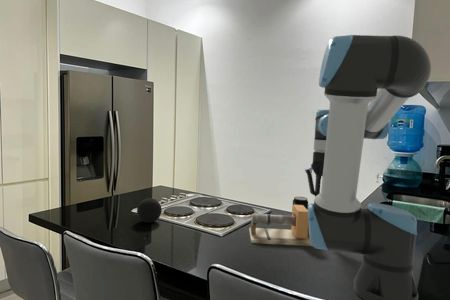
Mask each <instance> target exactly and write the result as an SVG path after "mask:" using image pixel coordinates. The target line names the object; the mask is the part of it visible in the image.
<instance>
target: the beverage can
mask: <svg viewBox="0 0 450 300" xmlns="http://www.w3.org/2000/svg"><path fill="white" fill-rule="evenodd" d="M308 204H309V201H308V198H307V197H306V196H294V197H293V200H292V206H291V207H292V209H293V205H303V206H304V207H305V208H306V209H307V210H308ZM292 209H291V210H292Z"/></svg>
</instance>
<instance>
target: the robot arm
mask: <svg viewBox="0 0 450 300" xmlns="http://www.w3.org/2000/svg"><path fill="white" fill-rule="evenodd" d="M431 69H432V65H431V59H430V56H429V54H428V52H427V50H426V49H425V48H424V46H423V45H422V44H420V43H419V42H418V41H417V40H415V39H412V38H410V37H408V36H405V35H370V34H369V35H365V34H364V35H362V34H359V35H358V34H349V35H336V36H334V37H331V38H330V39H329V41H328V43H327V45H326V48H325V51H324V54H323V58H322V62H321V67H320V71H319V78H318V85H319V87H320V88H322V89H323V88H324V92H323V93H324V96H325V97H326V99H327V100H328V101H329V109H318V110H316V113H315V114H316V115H315V118H314V119H315V123H314V125H315V127H314V139H313V140H314V141H313V150H314V151H313V152H312V163H311V165H310V166H309V167H308V168H305V169H304V172H305V173H306V176H307V182H308V187H309V193H310V194H311V195H313V196H314V199H313V203H312V202H311V203H308V223H309V236H310V243H311V245H312V246H311V247H313V248H314V249H318V250H325V251H326V252H329V251H330V252H331V251H332V252H340V253H349V254H357V255H358V254H359V255H362V262H361V265H360V266H359V267H358V271H357V272H356V275H355V277H354V279H353V291H354V293H355V292H356V293H355V294H356V295H357V296H359V298H361V299H362V300H419V292H418V288H417V284H416V281H415V277H414V276H415V275H414V273H413V272H414V271H413V270H414V261H415V253H416V252H415V250H416V243H417V235H418V232H417V230H418V228H417V227H418V220H417V218H416V216H415V215H414V214H413V213H411V212H409V211H408V210H405V209H402V208H399V207H396V206H393V205H389V204H384V203H378V202H369V203H368V204H367V205H366V208H362V203H361V202H360V201H359V199H358V198H357V193H358V186H359V177H360V170H361V169H360V168H361V161H362V154H363V147H364V146H363V145H364V139H367V140H369V139H370V140H383V139H386V138H387V137H388V134H389V131H390V120H391V119H392V118H393V117H394V116H395V115H396V113H397V112H398V111H399V110H400V109H401V108H402V107H403V105H405V103H406V102H407V101H408V100H409V99H410V98H413V97H415V96H417V95H418V94H419V93H420V92H421V91H422V89H423V88H425V86H426V85H427V83H428V82H429V80H430V79H429V78H430V76H431V71H432V70H431ZM312 173H314V175H315V185H314V181H313V180H314V179H313V174H312Z"/></svg>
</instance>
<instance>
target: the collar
mask: <svg viewBox="0 0 450 300" xmlns="http://www.w3.org/2000/svg"><path fill="white" fill-rule="evenodd" d="M292 206H293V209H291V216H296V226H293V225H290V226H291V228H290V230H292V232H293V233H294V235H295V237H296V238H305V239H307V234H308V210H307V209H306V208H305V207H304V206H303V205H293V204H292Z"/></svg>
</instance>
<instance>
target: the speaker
mask: <svg viewBox="0 0 450 300" xmlns="http://www.w3.org/2000/svg"><path fill="white" fill-rule="evenodd" d="M162 211H163V209H162V205H161V203H160V202H159V201H158V200H157V199H155V198H152V197H151V198H149V197H148V198H145V199H143V200H141V201H140V203H138V205H137V208H136V214H137V216H138V218H139V220H141V221H142V222H144V223H147V224H151V223H153V222H156V221H158V219H160V217H161V215H162Z"/></svg>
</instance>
